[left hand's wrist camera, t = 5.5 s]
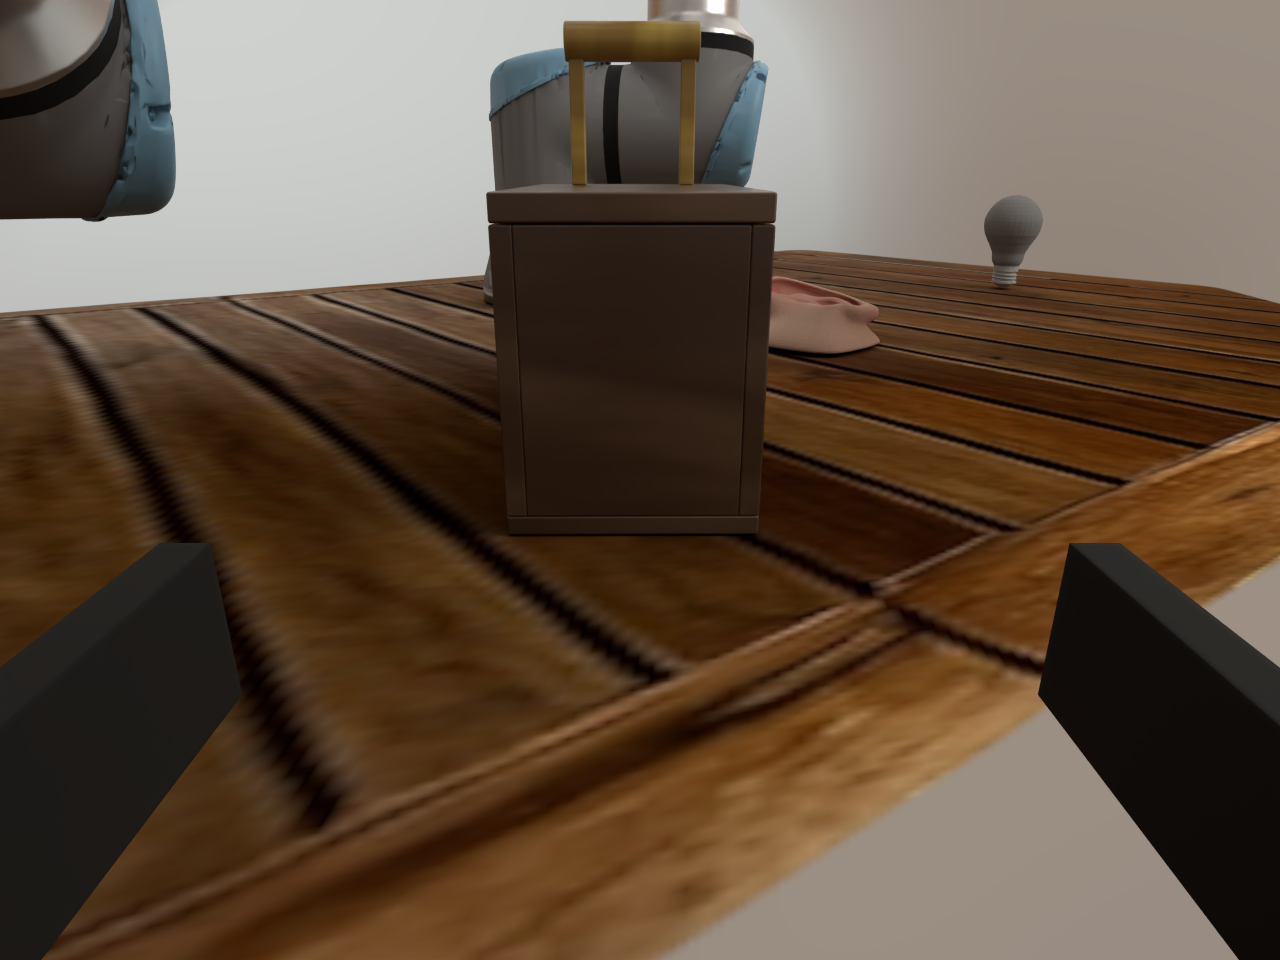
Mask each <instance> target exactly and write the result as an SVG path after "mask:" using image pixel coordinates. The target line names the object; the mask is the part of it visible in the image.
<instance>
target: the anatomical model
mask: <svg viewBox="0 0 1280 960" xmlns="http://www.w3.org/2000/svg"><path fill="white" fill-rule="evenodd" d="M878 313H879V310H878V308H877V307H876V306H874V305H871V304H869V303H866V302H863V301H861V300H858V299H856V298H853V297H851V296H848V295H845V294H842V293H839V292H836V291H832V290H829V289H825V288H822V287H819V286H815V285H812V284H809V283H805V282H801V281H798V280H794V279H790V278H785V277H773V278H772V295H771V313H770V331H769V347H772V348H777V349H784V350H791V351H798V352H807V353H818V354H837V353H845V352H851V351H855V350H859V349H864V348H868V347H870V346H873V345H876V344H878V343H879V342H880V340H879V338H878V337H877V336H876V335H875V334H874V333H873V332H872V331H871V330H870V329H869V328H868V326H867V325H868V323H869V322H871V321H873V320H874V319H876V318H877V316H878Z"/></svg>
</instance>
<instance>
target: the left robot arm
mask: <svg viewBox="0 0 1280 960" xmlns="http://www.w3.org/2000/svg"><path fill="white" fill-rule="evenodd" d="M170 109H171V102H170V84H169V75H168V67H167V59H166V51H165V44H164V37H163V30H162V24H161V18H160V13H159V7H158V2H157V0H0V219H45V218H82V219H83V220H85V221H93V222H97V221H102V220H105V219H106V218H108V217H115V216H130V215H144V214H151V213H154V212H157V211H159V210H161V209H162V208H163V207H165V206H166V205H167V204H168V202H169V201H170V199H171V197H172V195H173V192H174V188H175V178H176V161H175V141H174V129H173V122H172V116H171V114H170ZM241 695H242V692H241V687H240V682H239V678H238V673H237V668H236V663H235V658H234V654H233V649H232V644H231V639H230V635H229V630H228V625H227V620H226V615H225V611H224V606H223V601H222V596H221V592H220V587H219V582H218V577H217V572H216V568H215V563H214V558H213V553H212V549H211V544H210V543H160V544H158V545H157V546H156V547H155V548H153V549H152V550H151V551H149V552H148V553H147V554H146V555H144V556H143V557H142V558H140V559H139V560H138V561H137V562H135V563H134V564H133V565H132V566H130V567H129V568H128V569H126V570H125V571H124V572H123V573H121V574H120V575H119V576H117V577H116V578H115V579H114V580H112V581H111V582H110V583H108V584H107V585H106V586H105V587H103V588H102V589H101V590H99V591H98V592H97V593H96V594H94V595H93V596H92V597H90V598H89V599H88V600H87V601H85V602H84V603H83V604H81V605H80V606H79V607H78V608H76V609H75V610H74V611H72V612H71V613H70V614H69V615H67V616H66V617H65V618H63V619H62V620H61V621H60V622H58V623H57V624H56V625H54V626H53V627H52V628H51V629H49V630H48V631H47V632H45V633H44V634H43V635H42V636H40V637H39V638H38V639H36V640H35V641H34V642H33V643H31V644H30V645H29V646H28V647H26V648H25V649H24V650H22V651H21V652H20V653H19V654H17V655H16V656H15V657H13V658H12V659H11V660H10V661H8V662H7V663H6V664H4V665H3V666H2V667H1V668H0V960H41V959H42V958H43V957H44V955H45V954H46V953H47V951H48V950H49V949H50V947H51V946H52V945H53V943H54V942H55V941H56V939H57V938H58V937H59V936H60V934H61V933H62V932H63V930H64V929H65V928H66V926H67V925H68V924H69V922H70V921H71V920H72V918H73V917H74V916H75V914H76V913H77V912H78V910H79V909H80V908H81V906H82V905H83V904H84V903H85V901H86V900H87V899H88V897H89V896H90V895H91V893H92V892H93V891H94V889H95V888H96V887H97V885H98V884H99V883H100V881H101V880H102V879H103V877H104V876H105V875H106V873H107V872H108V871H109V870H110V868H111V867H112V866H113V864H114V863H115V862H116V860H117V859H118V858H119V856H120V855H121V854H122V852H123V851H124V850H125V848H126V847H127V846H128V844H129V843H130V842H131V840H132V839H133V838H134V837H135V835H136V834H137V833H138V831H139V830H140V829H141V827H142V826H143V825H144V823H145V822H146V821H147V819H148V818H149V817H150V815H151V814H152V813H153V811H154V810H155V809H156V807H157V806H158V805H159V804H160V802H161V801H162V800H163V798H164V797H165V796H166V794H167V793H168V792H169V790H170V789H171V788H172V786H173V785H174V784H175V782H176V781H177V780H178V778H179V777H180V776H181V775H182V773H183V772H184V771H185V769H186V768H187V767H188V765H189V764H190V763H191V761H192V760H193V759H194V757H195V756H196V755H197V753H198V752H199V751H200V749H201V748H202V747H203V745H204V744H205V743H206V742H207V740H208V739H209V738H210V736H211V735H212V734H213V732H214V731H215V730H216V728H217V727H218V726H219V724H220V723H221V722H222V720H223V719H224V718H225V716H226V715H227V714H228V712H229V711H230V710H231V709H232V707H233V706H234V705H235V703H236V702H237V701H238V699H239V698H240V697H241ZM1038 695H1039V697H1040V698H1041V699H1042V701H1043V702H1044V703H1045V705H1046V706H1047V707H1048V709H1049V710H1050V711H1051V712H1052V714H1053V715H1054V716H1055V718H1056V719H1057V720H1058V722H1059V723H1060V724H1061V726H1062V727H1063V728H1064V730H1065V731H1066V732H1067V734H1068V735H1069V736H1070V738H1071V739H1072V740H1073V741H1074V743H1075V744H1076V745H1077V747H1078V748H1079V749H1080V751H1081V752H1082V753H1083V755H1084V756H1085V757H1086V759H1087V760H1088V761H1089V763H1090V764H1091V765H1092V767H1093V768H1094V769H1095V771H1096V772H1097V773H1098V775H1099V776H1100V777H1101V778H1102V780H1103V781H1104V782H1105V784H1106V785H1107V786H1108V788H1109V789H1110V790H1111V792H1112V793H1113V794H1114V796H1115V797H1116V798H1117V800H1118V801H1119V802H1120V804H1121V805H1122V806H1123V807H1124V809H1125V810H1126V811H1127V813H1128V814H1129V815H1130V817H1131V818H1132V819H1133V821H1134V822H1135V823H1136V825H1137V826H1138V827H1139V829H1140V830H1141V831H1142V833H1143V834H1144V835H1145V837H1146V838H1147V839H1148V840H1149V842H1150V843H1151V844H1152V846H1153V847H1154V848H1155V850H1156V851H1157V852H1158V854H1159V855H1160V856H1161V858H1162V859H1163V860H1164V862H1165V863H1166V864H1167V866H1168V867H1169V868H1170V870H1171V871H1172V872H1173V873H1174V875H1175V876H1176V877H1177V879H1178V880H1179V881H1180V883H1181V884H1182V885H1183V887H1184V888H1185V889H1186V891H1187V892H1188V893H1189V895H1190V896H1191V897H1192V899H1193V900H1194V901H1195V902H1196V904H1197V905H1198V906H1199V908H1200V909H1201V910H1202V912H1203V913H1204V914H1205V916H1206V917H1207V918H1208V920H1209V921H1210V922H1211V924H1212V925H1213V926H1214V928H1215V929H1216V930H1217V932H1218V933H1219V934H1220V936H1221V937H1222V938H1223V939H1224V941H1225V942H1226V943H1227V945H1228V946H1229V947H1230V949H1231V950H1232V951H1233V953H1234V954H1235V955H1236V956H1237V958H1238V959H1239V960H1280V668H1279V667H1278V666H1277V665H1276V664H1274V663H1273V662H1272V661H1270V660H1269V659H1268V658H1267V657H1265V656H1264V655H1263V654H1261V653H1260V652H1259V651H1258V650H1256V649H1255V648H1254V647H1252V646H1251V645H1250V644H1249V643H1247V642H1246V641H1245V640H1244V639H1242V638H1241V637H1239V636H1238V635H1237V634H1236V633H1234V632H1233V631H1232V630H1231V629H1229V628H1228V627H1227V626H1226V625H1224V624H1223V623H1222V622H1220V621H1219V620H1218V619H1217V618H1215V617H1214V616H1213V615H1211V614H1210V613H1209V612H1208V611H1206V610H1205V609H1204V608H1202V607H1201V606H1200V605H1199V604H1197V603H1196V602H1195V601H1193V600H1192V599H1191V598H1190V597H1188V596H1187V595H1186V594H1184V593H1183V592H1182V591H1181V590H1179V589H1178V588H1177V587H1175V586H1174V585H1173V584H1172V583H1170V582H1169V581H1168V580H1166V579H1165V578H1164V577H1163V576H1161V575H1160V574H1159V573H1157V572H1156V571H1155V570H1154V569H1152V568H1151V567H1150V566H1148V565H1147V564H1146V563H1145V562H1143V561H1142V560H1141V559H1140V558H1138V557H1137V556H1136V555H1134V554H1133V553H1132V552H1131V551H1129V550H1128V549H1127V548H1125V547H1124V546H1123V545H1122V544H1120V543H1070V544H1069V549H1068V553H1067V558H1066V563H1065V568H1064V572H1063V577H1062V582H1061V587H1060V592H1059V596H1058V601H1057V606H1056V611H1055V615H1054V620H1053V625H1052V630H1051V635H1050V639H1049V644H1048V649H1047V654H1046V658H1045V663H1044V668H1043V673H1042V678H1041V682H1040V687H1039V692H1038Z"/></svg>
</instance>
